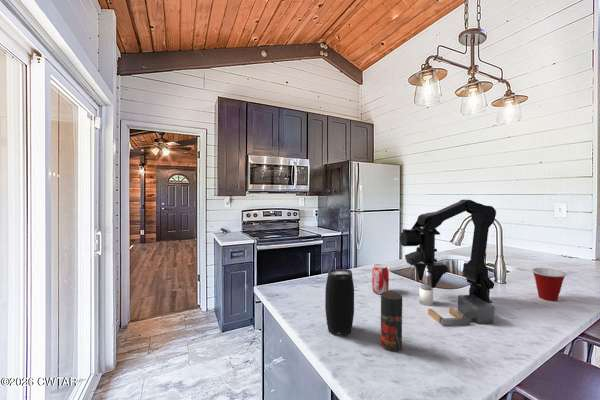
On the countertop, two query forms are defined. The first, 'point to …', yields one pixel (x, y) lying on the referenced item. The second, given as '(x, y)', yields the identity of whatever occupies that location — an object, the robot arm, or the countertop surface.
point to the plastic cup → (548, 282)
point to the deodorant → (391, 321)
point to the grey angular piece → (467, 312)
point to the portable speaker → (339, 301)
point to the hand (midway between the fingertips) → (426, 283)
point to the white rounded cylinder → (426, 295)
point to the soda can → (380, 278)
